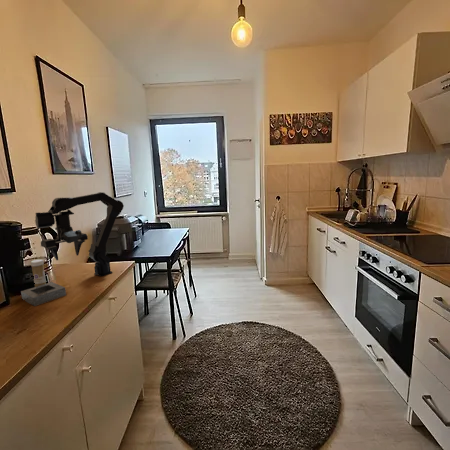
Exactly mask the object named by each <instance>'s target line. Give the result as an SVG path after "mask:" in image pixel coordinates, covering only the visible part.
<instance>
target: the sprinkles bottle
mask: <svg viewBox="0 0 450 450" xmlns="http://www.w3.org/2000/svg"><path fill="white" fill-rule="evenodd" d="M44 263H45V262H44V259H33V260H32V261H30V266H31V271H32V276H34V279H33V283H35V284H34V287H37V286H40V285H44V284H47V283H46V281H47V280H46V275H45V268H44Z"/></svg>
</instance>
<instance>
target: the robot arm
mask: <svg viewBox="0 0 450 450" xmlns="http://www.w3.org/2000/svg"><path fill="white" fill-rule="evenodd" d="M99 201H100V202H101V203H103V204H104V205H106V217H105V220H104V223H103V225H102V227H101V230H100V233H99V236H98V238H97V241H96V242H95V244H92V243H91V244H90V247H89V250H88V252H89V253H88V256H89V258H90V259H91V260H93V261H94V262H95V263H94V275H95V276H98V277H104V276H107V275H110V274H112V273H113V271H111V264H110V263H111V258H110V257H109V256H108V255H106V254H107V244H108V240H109V238H110V236H111V233H112V229H113V227H114V224H115V222H116V219H117V218H118V216H120V214H121V213H122V211H123V209H124V206H125V205H124V203H123V202H122V201H121V200H119V199H115V198H113V197H112V196H109V195H108V194H106V193H105V192H96V193H91V194H87V195H81V196H74V197H55V198H54V199H53V200H52V202H51V204H52V205H51V206H50V208H49V210H48V211H46V212H45V211H44V212H43V211H42V212H35V217H34V218H35V220H34V222H35V223H34V224H35V227H36V228H37V229H44V228H52V227H53V225H55V226H56V227H55V231H56V234H57V236H56V239H53V238H46V239H42V240H41V241H40V247H42V248H45V249H48V250H49V251H50V253H51V254H52V256H53V257H54V259H55V261H59V255H58V250H57V249H58V246H57V244H62V243H67V244H71V243H73V245H74V250H75V255H76V257H77V256H79V254H80V250H81V247H82V245H83V243H85V242H86V241H87V240H89V237H88V236H89V235H87V234H86V233H82V230H81V229H77V230H75V231H74V230H73V227H72V226H71V219H70V216H71V215H75V213H74V212H73V211H72V210H71V209H72V208H74V207H77V206H81V205H86V204H90V203H91V204H92V203H96V202H99Z"/></svg>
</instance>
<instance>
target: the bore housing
mask: <svg viewBox="0 0 450 450" xmlns="http://www.w3.org/2000/svg"><path fill="white" fill-rule="evenodd" d="M20 294H21V300H22V299H23V301H24V300H25V301H24V302H26V303H27V304H30V305H32V306H34V307H37V306H40V305H42V304H45V303H48V302H52V301H53V300H56V299H59V298H63V297H65V296H67V289H66V287H65V286H63V285H60V284H57V283H55V282H53V281H51V282H48V283H46V284H44V285H40V286H37V287H35V286H34V287H31V288H27V289H24V290H21V291H20Z"/></svg>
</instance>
